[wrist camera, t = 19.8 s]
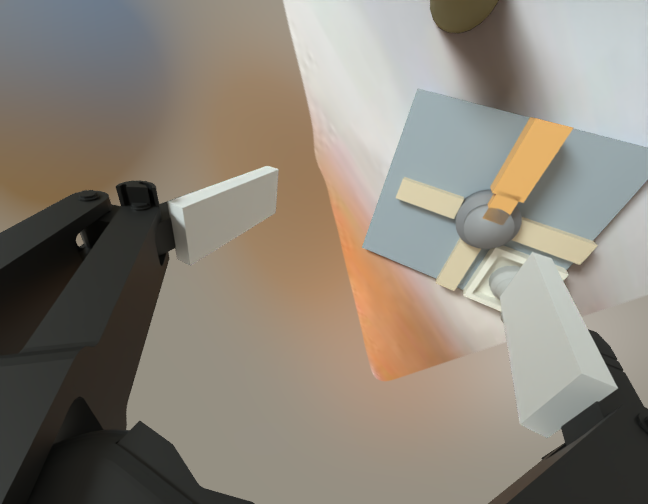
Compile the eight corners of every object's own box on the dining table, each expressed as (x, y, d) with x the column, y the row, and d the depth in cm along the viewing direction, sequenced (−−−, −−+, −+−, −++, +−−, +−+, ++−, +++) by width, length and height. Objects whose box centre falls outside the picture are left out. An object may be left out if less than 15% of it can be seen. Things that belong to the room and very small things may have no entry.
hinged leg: (496, 245, 30) (498, 254, 28) (456, 230, 31) (456, 238, 29) (574, 128, 24) (584, 130, 22) (520, 114, 25) (525, 115, 23)
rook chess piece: (515, 301, 33) (528, 348, 27) (480, 284, 34) (484, 325, 28) (542, 275, 31) (564, 320, 24) (503, 257, 32) (514, 295, 25)
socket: (494, 242, 32) (495, 247, 30) (564, 267, 30) (568, 274, 29) (463, 289, 36) (463, 295, 34) (523, 314, 34) (525, 322, 33)
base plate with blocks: (419, 89, 29) (414, 87, 26) (662, 151, 24) (690, 158, 21) (364, 243, 40) (356, 254, 37) (523, 310, 35) (529, 328, 32)
